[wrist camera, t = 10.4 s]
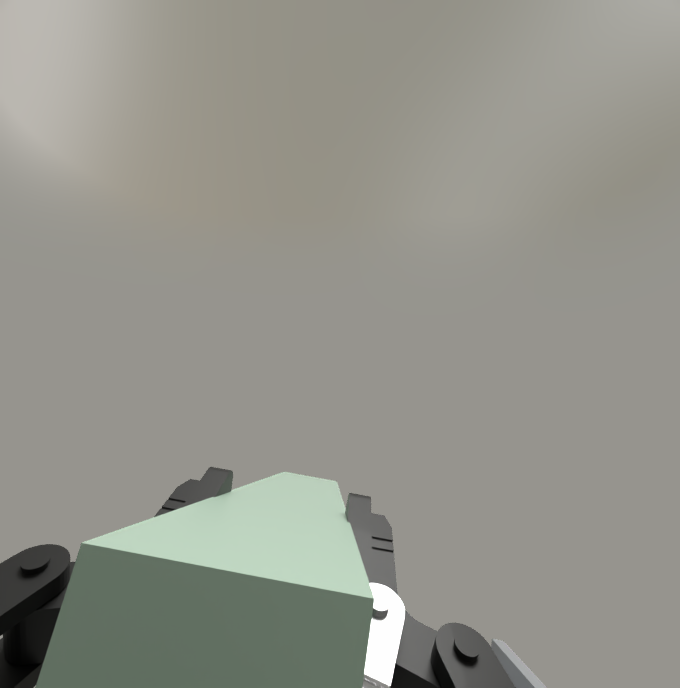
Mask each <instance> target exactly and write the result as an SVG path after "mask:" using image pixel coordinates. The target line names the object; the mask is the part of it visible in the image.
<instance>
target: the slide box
mask: <svg viewBox="0 0 680 688" xmlns="http://www.w3.org/2000/svg"><path fill="white" fill-rule="evenodd" d="M345 510H346V509H345V506H344V503H343V500H342V497H341V493H340V490H339V487H338V484H337V482H336V481H332V480H327V479H321V478H316V477H310V476H305V475H300V474H294V473H289V472H282V473H279V474H276V475H274V476H271V477H268V478H265V479H262V480H259V481H257V482H254V483H251V484H248V485H245V486H242V487H239V488H236V489H234V490H231V492H228V493H225V494H222V495H220V496H217V497H211V498H208V499H205V500H202V501H199V502H197V503H194V504H191V505H188V506H185V507H182V508H179V509H177V510H174V511H171V512H168V513H165V514H162V515H159V516H157V517H154V518H151V519H148V520H145V521H142V522H140V523H137V524H134V525H131V526H128V527H125V528H123V529H120V530H117V531H114V532H111V533H109V534H105V535H102V536H100V537H97V538H94V539H91V540H89V541H86V542H83V543H81V547H80V550H79V553H78V556H77V559H76V562H75V565H74V568H73V571H72V575H71V578H70V581H69V584H68V587H67V590H66V593H65V596H64V600H63V603H62V606H61V609H60V612H59V615H58V618H57V621H56V625H55V628H54V631H53V634H52V637H51V640H50V643H49V646H48V650H47V653H46V656H45V659H44V662H43V665H42V668H41V671H40V675H39V678H38V681H37V684H36V687H35V688H362V687H363V679H364V672H365V665H366V657H367V650H368V643H369V635H370V628H371V621H372V613H373V606H374V596H373V593H372V590H371V587H370V583H369V580H368V577H367V574H366V571H365V568H364V565H363V562H362V559H361V555H360V552H359V549H358V546H357V543H356V540H355V537H354V534H353V531H352V527H351V524H350V523H349V522H348V521H347V518H346V514H345Z"/></svg>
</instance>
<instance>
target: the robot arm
mask: <svg viewBox="0 0 680 688" xmlns="http://www.w3.org/2000/svg"><path fill="white" fill-rule="evenodd" d="M232 479H233V472H232V471H231V470H225V469H220V468H214V467H210V468H209V469H208V470H207V471H206V473H205V474H204V476H203V477H202V479H201V480H200V481H198V480H192V479H190V480H188V481H187V482H185V483H183V484H182V485H180V486H178V487H177V488H176V489H175V491H174V492H173V493H172V494H171V496H170V497H169V499H168V500H167V501H166V502H165V504H164V505H163V506H162V509H160V510H159V511H158V513H157V514H156V515H155V516H154V517H157V516H159V515H162V514H165V513H168V512H171V511H174V510H177V509H179V508H182V507H185V506H188V505H191V504H194V503H197V502H199V501H202V500H205V499H208V498H211V497H217V496H220V495H222V494H225V493H228V492H231V488H232ZM345 514H346V518H347V521H348V522H349V523H350V524H351V527H352V531H353V534H354V537H355V540H356V543H357V546H358V549H359V552H360V555H361V559H362V562H363V565H364V568H365V571H366V574H367V577H368V580H369V583H370V587H371V590H372V593H373V596H374V606H373V613H372V621H371V628H370V635H369V643H368V650H367V657H366V665H365V672H364V679H363V687H362V688H516V687H515V686H514V684H513V682H512V681H511V679H510V677H509V676H508V674H507V673H506V671H505V669H504V668H503V666H502V664H501V663H500V661H499V660H498V658H497V656H496V655H495V653H494V651H493V650H492V648H491V647H490V645H489V644H488V642H487V641H486V640H485V639H484V638H483V637H482V636H481V635H480V634H479V633H478V632H476V631H475V630H474V629H472V628H470V627H468V626H466V625H463V624H459V623H448V624H445V625H443V626H442V627H441V628H440V629H439V630H438V631H436V630H433V629H432V628H430V627H428V626H425V625H424V624H422V623H420V622H418V621H417V620H415V619H414V618H413V617H411V616H410V615H409V614H408V613H407V612H406V610H405V609H404V605H403V603H402V601H401V599H400V598H399V596H398V594H397V585H396V574H395V562H394V554H393V543H392V541H393V539H392V528H391V526H390V524H389V523H388V521H387V519H386V518H385V516H383V515H378V514H373V513H371V497H369V496H363V495H358V494H352V493H349V496H348V500H347V506H346V510H345ZM74 565H75V562H70V554H69V552H68V550H67V549H65V548H64V547H62V546H59V545H53V544H46V545H39V546H35V547H32V548H28V549H26V550H24V551H22V552H20V553H18V554H16V555H14V556H13V557H11V558H9V559H7V560H6V561H4V562H3V563H1V564H0V636H1V635H2V634H3V638H2V639H0V688H33V687H34V686H35V685H36V684H37V681H38V678H39V675H40V671H41V668H42V665H43V662H44V659H45V656H46V653H47V650H48V646H49V643H50V640H51V637H52V634H53V631H54V628H55V625H56V621H57V618H58V615H59V612H60V609H61V606H62V603H63V600H64V596H65V593H66V590H67V587H68V584H69V581H70V578H71V575H72V571H73V568H74Z"/></svg>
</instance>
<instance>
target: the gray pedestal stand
mask: <svg viewBox="0 0 680 688" xmlns="http://www.w3.org/2000/svg"><path fill="white" fill-rule="evenodd" d="M491 648H492V650H493V651H494V653H495V655H496V656H497V658H498V660H499V661H500V663H501V664H502V666H503V668H504V669H505V671H506V673H507V674H508V676H509V677H510V679H511V681H512V682H513V684H514V686H515V687H516V688H547V687H546V686H545V685H544V684H543V683H542V682H541V681H540V680H539V679H538V678H537V677H536V675H535V674H534V673H533V672H532V671H531V670H530V669H529V668H528V667H527V666H526V665H525V664H524V662H522V660H521V659H520V658H519V657H518V656H517V655H516V654H515V653H514V652H513V651H512V650H511V649H510V647H509V646H508V645H507V644H506V643H505V642H504V641H501V640H496V639H492V644H491Z"/></svg>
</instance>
